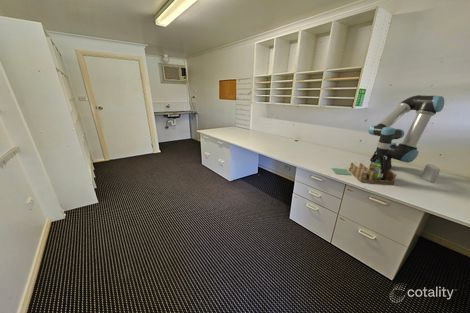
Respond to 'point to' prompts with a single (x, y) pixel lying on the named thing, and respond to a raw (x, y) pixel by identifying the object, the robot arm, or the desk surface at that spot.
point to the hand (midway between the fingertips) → (375, 173)
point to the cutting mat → (341, 171)
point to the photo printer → (430, 173)
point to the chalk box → (375, 169)
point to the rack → (371, 175)
